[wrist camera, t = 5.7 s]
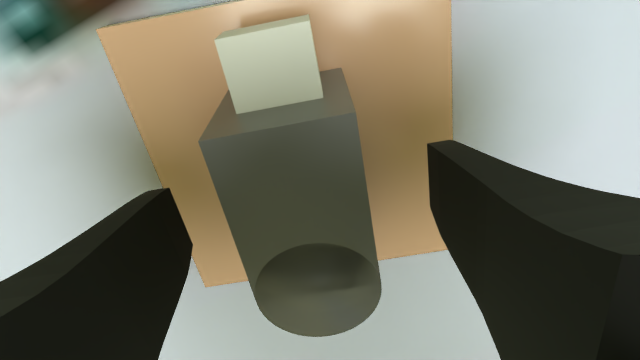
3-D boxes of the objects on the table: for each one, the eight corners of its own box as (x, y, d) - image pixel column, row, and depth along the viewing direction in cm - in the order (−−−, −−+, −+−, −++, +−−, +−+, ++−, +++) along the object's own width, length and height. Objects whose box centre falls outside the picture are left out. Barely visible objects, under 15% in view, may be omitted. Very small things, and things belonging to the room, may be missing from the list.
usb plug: (368, 242, 15) (387, 326, 12) (279, 257, 16) (271, 344, 12) (331, 3, 11) (342, 24, 8) (210, 28, 11) (168, 58, 8)
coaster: (447, 236, 16) (454, 248, 16) (209, 273, 17) (205, 287, 16) (441, -40, 11) (450, -40, 11) (108, 25, 12) (95, 29, 11)
